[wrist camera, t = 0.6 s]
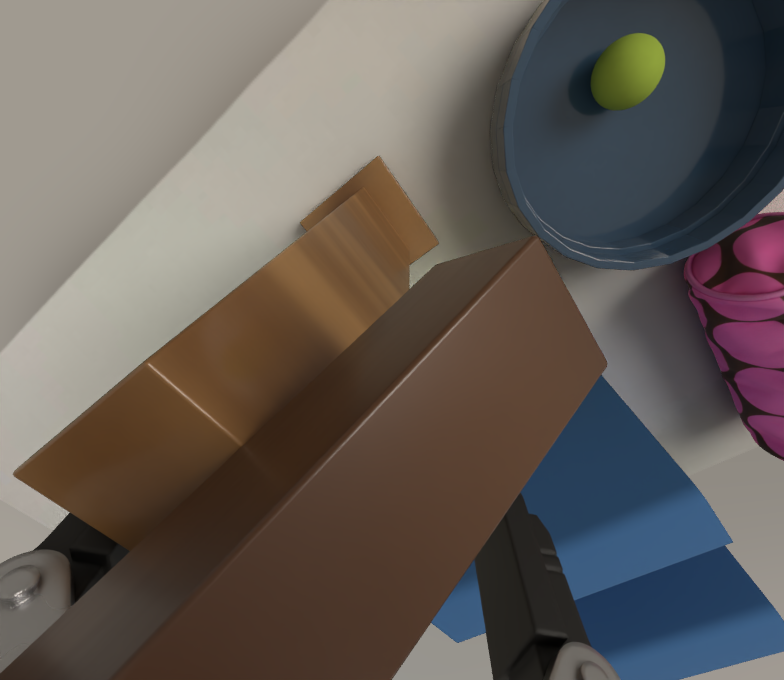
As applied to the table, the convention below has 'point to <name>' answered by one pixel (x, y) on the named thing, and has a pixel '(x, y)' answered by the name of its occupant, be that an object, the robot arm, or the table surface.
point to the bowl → (642, 129)
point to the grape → (627, 71)
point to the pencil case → (747, 321)
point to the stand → (234, 364)
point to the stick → (349, 495)
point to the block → (635, 554)
